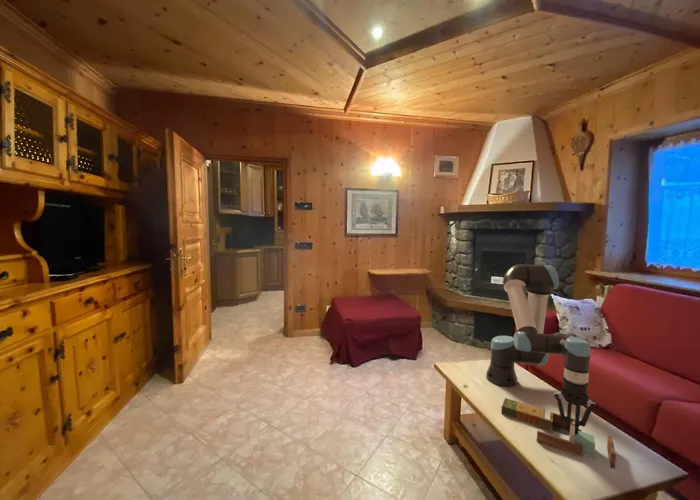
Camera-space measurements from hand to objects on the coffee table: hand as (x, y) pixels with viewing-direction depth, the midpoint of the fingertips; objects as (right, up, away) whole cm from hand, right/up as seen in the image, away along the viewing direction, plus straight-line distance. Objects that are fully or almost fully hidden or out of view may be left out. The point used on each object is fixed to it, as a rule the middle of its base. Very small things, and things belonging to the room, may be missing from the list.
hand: (571, 439), depth 118 cm
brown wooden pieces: (+3, -2, +3) cm, 4 cm away
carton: (-8, -1, +19) cm, 20 cm away
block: (+3, -2, -2) cm, 4 cm away
